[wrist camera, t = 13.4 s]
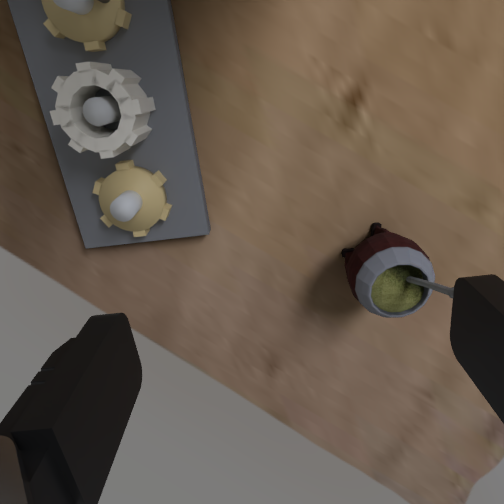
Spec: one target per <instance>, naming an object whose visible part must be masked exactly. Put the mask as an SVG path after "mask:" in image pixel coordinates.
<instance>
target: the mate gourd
mask: <svg viewBox="0 0 504 504" xmlns="http://www.w3.org/2000/svg"><path fill="white" fill-rule="evenodd" d="M342 257H344V258H345V268H346V273H347V279H348V282H349V285H350V288H351V290H352V293H353V295H354V297H355V298H356V299H357V300H358V301H359V302H360V303H361V304H362V305H363V306H364V307H365V308H366V309H367V310H368V311H369V312H371V313H374V314H377V315H380V316H382V317H403V316H406V315H409V314H412V313H414V312H416V311H417V310H418V309H420V308H421V307H422V306H424V304H425V303H426V301H427V300H428V298H429V297H430V295H431V293H432V291H433V290H435V291H438V292H441V293H444V294H447V295H449V296H450V298H453V293H454V287H452V288H450V287H446V286H443V285H440V284H437V283H434V280H435V274H434V271H433V267H432V263H431V262H430V260H429V257H428V256H427V255H426V254H425V252H424V251H423V250H422V249H421V248H420V247H419V246H418V245H417V244H416V243H415V242H414V241H412V240H410V239H407V238H405V237H403V236H400V235H398V234H395V233H391V232H389V231H388V230H386V229H384V228H381V224H380V223H373V224H372V229H371V237H369V238H366V239H365V240H364V241H362V242H361V243H360V244H359V245H358V246H357V247H356V248H350V249H343V250H342Z"/></svg>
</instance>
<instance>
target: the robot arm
mask: <svg viewBox="0 0 504 504" xmlns="http://www.w3.org/2000/svg"><path fill="white" fill-rule="evenodd" d="M450 341H451V346H452V349H453V352H454V355H455V357H456V359H457V360H458V362H459V363H460V364H461V366H462V367H463V368H464V370H465V371H466V373H467V374H468V375H469V377H470V378H471V379H472V381H473V382H474V384H475V385H476V386H477V388H478V389H479V390H480V392H481V393H482V395H483V396H484V397H485V399H486V400H487V401H488V403H489V404H490V406H491V407H492V408H493V410H494V411H495V412H496V414H497V415H498V417H499V418H500V419H501V421H502V422H503V423H504V281H503V280H501V279H500V278H499V277H498V276H496V275H492V274H491V275H482V276H472V277H463V278H458V279H457V281H456V282H455V285H454V293H453V305H452V316H451V327H450ZM141 382H142V367H141V362H140V359H139V355H138V351H137V348H136V345H135V341H134V338H133V334H132V331H131V327H130V324H129V321H128V318H127V316H126V315H125V314H124V313H114V314H105V315H95V316H91V317H90V318H89V319H88V321H87V322H86V324H85V325H84V327H83V328H82V330H81V331H80V332H79V334H78V335H77V337H76V338H71V339H69V340H68V341H67V342H66V343H64V344H63V345H62V346H60V347H59V348H58V349H57V350H55V351H54V352H53V353H52V354H51V356H50V357H49V358H48V360H47V361H46V362H45V364H44V365H43V366H42V368H41V371H40V372H38V373H37V374H36V376H35V377H34V379H33V380H32V381H31V385H29V386H28V387H27V388H26V389H25V391H24V392H23V393H22V395H21V396H20V397H19V399H18V400H17V402H16V403H15V404H14V406H13V407H12V408H11V410H10V411H9V412H8V414H7V415H6V416H5V418H4V419H3V421H2V422H1V423H0V504H98V501H99V499H100V496H101V493H102V490H103V487H104V485H105V482H106V480H107V477H108V474H109V472H110V468H111V466H112V464H113V461H114V458H115V455H116V452H117V450H118V447H119V445H120V442H121V439H122V437H123V434H124V431H125V428H126V426H127V423H128V420H129V418H130V415H131V412H132V409H133V407H134V404H135V402H136V399H137V396H138V393H139V391H140V388H141Z"/></svg>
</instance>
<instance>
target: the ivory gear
mask: <svg viewBox="0 0 504 504" xmlns="http://www.w3.org/2000/svg"><path fill="white" fill-rule="evenodd" d="M75 64H76V68H77V71H76V72H73V73H72V74H71V75H70V76H57V78H56V80H55V81H54V83H53V85H52V87H51V88H52V89H53V90H55V91H56V92H57V93H58V95H57V99H56V104H55V108H56V110H52V111H50V115H51V118H52V121H53V124H54V125H59V124H60V125H61V128H62V129H63V130H64V131H65V132H66V134H67V135H68V136H69V137H70V138H71V140H70V142H69V144H68V145H69V146H71V147H72V148H73V149H75V150H76V151H78V152H79V153H81V152H84V151H86V150H91V151H93V152H96V153H97V152H99V153H100V157H101V159H104V158H112V157H115V156H117V155H119V154H121V153H123V152H124V151H126V150H128V149H130V148H131V147H130V146H133V145H135V144H137V143H139V142H141V141H143V140H144V139H146V138H147V136H148V135H149V133H150V132H151V130H152V128H150V127H149V126H148V125H147V123H148V120H149V117H150V111H153V110H156V109H155V104H154V99H153V97H149V98H147V95H146V93H145V92H144V91H143V90H142V88H141V87H140V86H139V85H138V83H139V82H140V80H141V79H142V78H140V77H139V76H138V75H137V74H135V73H134V72H133V71H131V70H125V69H114V68H112V66H111V64H106V63H98V62H82V63H75ZM101 88H103V89H106V90H108V91H109V92H110V93H111V94H112V96H113V97H114V98H115V99H116V101H117V102H118V105H119V109H120V113H121V119H120V123H119V126H118V129H117V130H116V131H113V130H110V129H108V128H106V127H104V126H103V125H102V126H94V125H92V124H90V123H89V122H88V121H87V120H86V119H85V117H84V115H83V105H84V103H85V101H86V100H88V99H89V98H94V97H95V94H96V93H97V92H98V91H99V90H100V89H101Z"/></svg>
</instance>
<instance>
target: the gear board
mask: <svg viewBox="0 0 504 504" xmlns="http://www.w3.org/2000/svg"><path fill="white" fill-rule="evenodd" d="M7 1H8V4H9V7H10V11H11V14H12V17H13V20H14V23H15V26H16V30H17V33H18V36H19V39H20V42H21V45H22V49H23V52H24V55H25V58H26V61H27V64H28V68H29V71H30V74H31V77H32V80H33V83H34V87H35V90H36V93H37V96H38V99H39V102H40V105H41V109H42V112H43V115H44V118H45V121H46V124H47V128H48V131H49V134H50V137H51V140H52V143H53V147H54V150H55V153H56V156H57V159H58V162H59V166H60V169H61V172H62V175H63V178H64V181H65V185H66V188H67V191H68V194H69V197H70V200H71V204H72V207H73V210H74V213H75V216H76V219H77V223H78V226H79V229H80V232H81V235H82V238H83V242H84V245H85V248H95V247H104V246H112V245H121V244H130V243H139V242H147V241H156V240H165V239H173V238H182V237H191V236H199V235H208V234H209V233H210V230H211V228H210V222H209V216H208V211H207V205H206V199H205V194H204V188H203V182H202V177H201V171H200V165H199V160H198V154H197V148H196V143H195V137H194V131H193V125H192V120H191V114H190V108H189V103H188V97H187V91H186V86H185V80H184V74H183V69H182V63H181V57H180V52H179V46H178V40H177V35H176V29H175V23H174V18H173V12H172V6H171V1H170V0H7ZM82 62H98V63H106V64H111V66H112V68H114V69H125V70H131V71H133V72H134V73H135V74H137V75H138V76H139V77H140V78H142V79H141V80H140V82H139V83H138V85H139V86H140V87H141V88H142V90H143V91H144V92H145V93H146V95H147V98H149V97H153V99H154V104H155V109H156V110H153V111H150V117H149V120H148V123H147V125H148V126H149V127H150V128H152V130H151V132H150V133H149V135H148V136H147V138H146V139H144V140H143V141H141V142H139V143H137V144H135V145H133V146H130V147H131V148H130V149H128V150H126V151H124V152H123V153H121V154H119V155H117V156H115V157H112V158H104V159H101V157H100V153H99V152H97V153H96V152H93V151H91V150H86V151H84V152H81V153H79V152H78V151H76V150H75V149H73V148H72V147H71V146H69V145H68V144H69V142H70V140H71V138H70V137H69V136H68V135H67V134H66V132H65V131H64V130H63V129H62V128H61V125H60V124H59V125H54V124H53V121H52V118H51V115H50V111H52V110H56V108H55V104H56V99H57V95H58V93H57V92H56V91H55V90H53V89H52V88H51V87H52V85H53V83H54V81H55V80H56V78H57V76H70V75H71V74H72V73H73V72H76V71H77V68H76V64H75V63H82ZM83 115H84V117H85V119H86V120H87V121H88V122H89V123H90V124H92V125H94V126H102V125H103V126H104V127H106V128H108V129H110V130H113V131H116V130H117V129H118V126H119V123H120V119H121V113H120V109H119V105H118V102H117V101H116V99H115V98H114V97H113V96H112V94H111V93H110V92H109V91H108V90H106V89H103V88H101V89H100V90H99V91H98V92H97V93H96V94H95V97H94V98H89V99H88V100H86V101H85V103H84V105H83Z"/></svg>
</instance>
